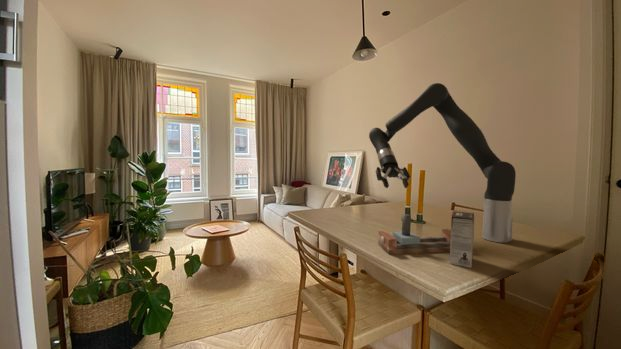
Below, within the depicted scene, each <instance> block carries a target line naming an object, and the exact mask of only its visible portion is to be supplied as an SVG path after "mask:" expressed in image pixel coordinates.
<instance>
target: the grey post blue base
mask: <svg viewBox="0 0 621 349" xmlns="http://www.w3.org/2000/svg"><path fill="white" fill-rule="evenodd" d="M401 218H402V219H401V230H400V231H392V236H393V237H395V238H396V239H397V241H398V242H399V243H400V244H402V245H408V244H420V238H421V236H418V235H417V234H415V233H413V232H412V231H411V226H412V224H411V220H412V219H411V218H412V217H411V214H407V213H405V214H404V213H403V214H402V216H401Z"/></svg>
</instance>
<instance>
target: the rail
mask: <svg viewBox="0 0 621 349" xmlns="http://www.w3.org/2000/svg"><path fill="white" fill-rule="evenodd" d="M377 232H378V233H377V234H378V235H377V236H378V237H377V238H378V239H377V240H378V243H377V244H378V246H379V247H380V248H381V249H382V250H383V251H384V252H385V253H386V254H387V255H401V254H402V255H404V254H407V255H408V254H409V255H410V254H425V253H426V254H429V253H431V254H432V253H450V246H451V228H443V229H441V236H434V237H432V236H431V237H430V236H429V237H427V236H426V237H420V244H408V245H402V244H400V243H399V242H398V241H397V239H396V238H395V237H393V234H390V233H389V232H388V231H386V230H378V231H377Z"/></svg>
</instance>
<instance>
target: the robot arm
mask: <svg viewBox="0 0 621 349" xmlns="http://www.w3.org/2000/svg"><path fill="white" fill-rule="evenodd" d="M432 107H433V108H434V109H435V110H436V111H437V112H438V113H439V114H440V115H441V116H440V117H442V118H443V120H444V122H445V124H446V126H447V128H448V129H449V132H451V134H452V136H453V137H454V138H455V140H457V142H458V143H459V144H460V145H461V146H462V148H463V149H464V150H465V151H466V153H468V154H469V155H470V156H471V157H472V158H473V160H474V161H475V163H476V164H477V166H478V168H479V169H480V171H481V172H482V174H483V175H484V177H485V178H486V179H487V182H486V184H487V185H486V190H485V192H484V195H483V196H484V197H483V199H484V200H483V217H482V218H483V219H482V221H483V222H482V239H485V240H487V241H490V242H493V243H494V242H495V243H500V244H501V243H504V244H505V243H509V242H512V241H513V226H514V224H513V220H514V219H513V218H512V202H513V196H514V193H515V187H516V179H517V178H516V177H517V176H516V168H515V167H514V166H513V164H512V163H509V162H508V161H505V160H504V161H503V160H501V159H500V158H499V157H498V156H497V155H496V154H495V153H494V151H493V150H492V149H491V148H490V146H489V144H488V141H487V138H486V137H485V134H484V133H483V132H482V129H481V128H480V127H479V126H478V125H477V124H476V123H475V121H474V120H473V119H472V118H471V117H470V116H469V115H468V114H467V113H466V112H465V111H464V110H462V109H461V108H460V107H459V106H458V104H457V103H456V102H455V100H454V98H453V97H452V95H451V93H450V92H449V90H448V88H447V87H446V86H445V84H443V83H441V82H439V83H438V82H435V83H433V84H430V85H429V86H428V87H427V88H426V89H425V90H424V91H423V92H422V93H421V94H420V95H419V96H418V97H417V98H416V99H415V100H414V101H413V102H412V103H410V104H409V105H408V106H407V107H405V108H404V109H402V110H401V111H400V112H398V113H397V114H395V116H393V117H392V118H390V119H389V120H388V121H387V122H386V123H385V129H386V130H385V131H384V130H383V129H382V128H379V127H374V128H371V130H370V131H369V135H368V138H369V141H370V142H371V144H372V145H373V147H374V149H375V152H376V155H377V159H378V160H377V161H378V163H379V166H380V167H379V166H377V167H376V170H375V176H376V178H377V181H381V182H382V184H383V186H384V188H385V189H388V188H389V187H390V184H389V181H388V178H396V179H397V180H400V181H402V185H403V187H404V188H405V189H407V188H408V187H409V180H410V179H411V175H410V173H409V171H408V169H407V167H402V168H400V167H399V164H398V161H397V158H396V156H395V153H394V152H393V150H392V148H391V144H390V143H389V142H390V141H391V140H392V138H393V137H394V136H395V134H396V133H398V132H400V131H401V130H402V129H403V128H405V127H406V126H408V125H409V124H410V123H411V122H413V120H414V119H416V118H417V117H418V116H419V115H421V114H422V113H424V112H425V111H426V110H428V109H430V108H432ZM382 174H383V175H382Z"/></svg>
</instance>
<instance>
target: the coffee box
mask: <svg viewBox="0 0 621 349" xmlns="http://www.w3.org/2000/svg"><path fill="white" fill-rule="evenodd" d="M450 220H451V224H450V226H451V228H450V230H451V246H450V252H449V265H454V266H455V265H456V266H459V267H465V268H470V269H472V268H473V254H474V253H473V252H474V236H475V234H474V233H475V232H474V230H475V214H474V212H466V211H452V214H451V219H450Z"/></svg>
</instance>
